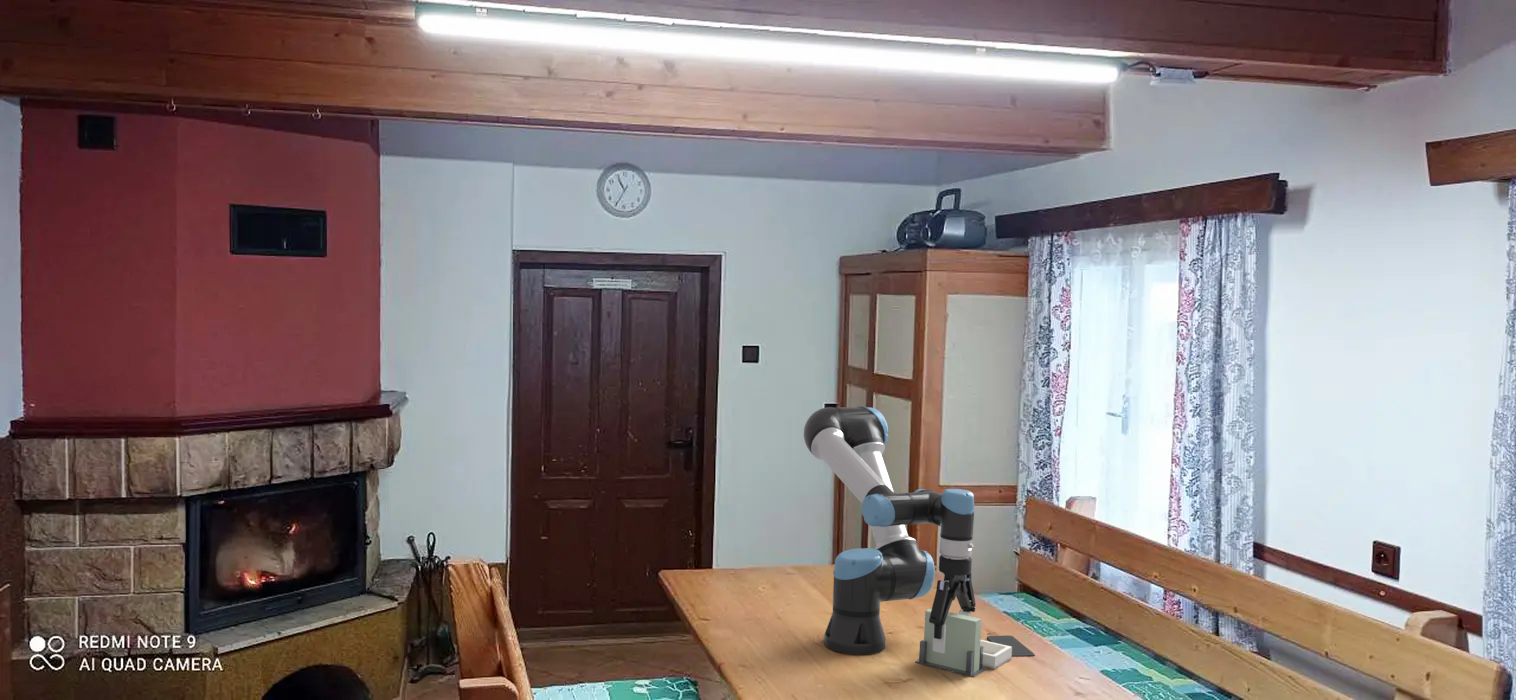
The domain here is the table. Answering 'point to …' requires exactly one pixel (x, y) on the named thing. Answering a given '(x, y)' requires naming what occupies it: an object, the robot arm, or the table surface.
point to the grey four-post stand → (968, 667)
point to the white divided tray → (995, 654)
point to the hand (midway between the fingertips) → (951, 645)
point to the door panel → (955, 641)
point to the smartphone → (1012, 645)
